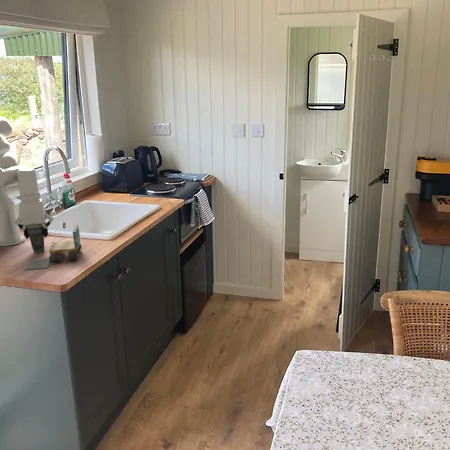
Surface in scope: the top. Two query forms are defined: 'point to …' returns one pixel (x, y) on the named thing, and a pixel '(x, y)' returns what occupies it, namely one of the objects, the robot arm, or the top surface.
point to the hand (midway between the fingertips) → (36, 237)
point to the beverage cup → (36, 237)
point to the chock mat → (38, 264)
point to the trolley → (66, 248)
